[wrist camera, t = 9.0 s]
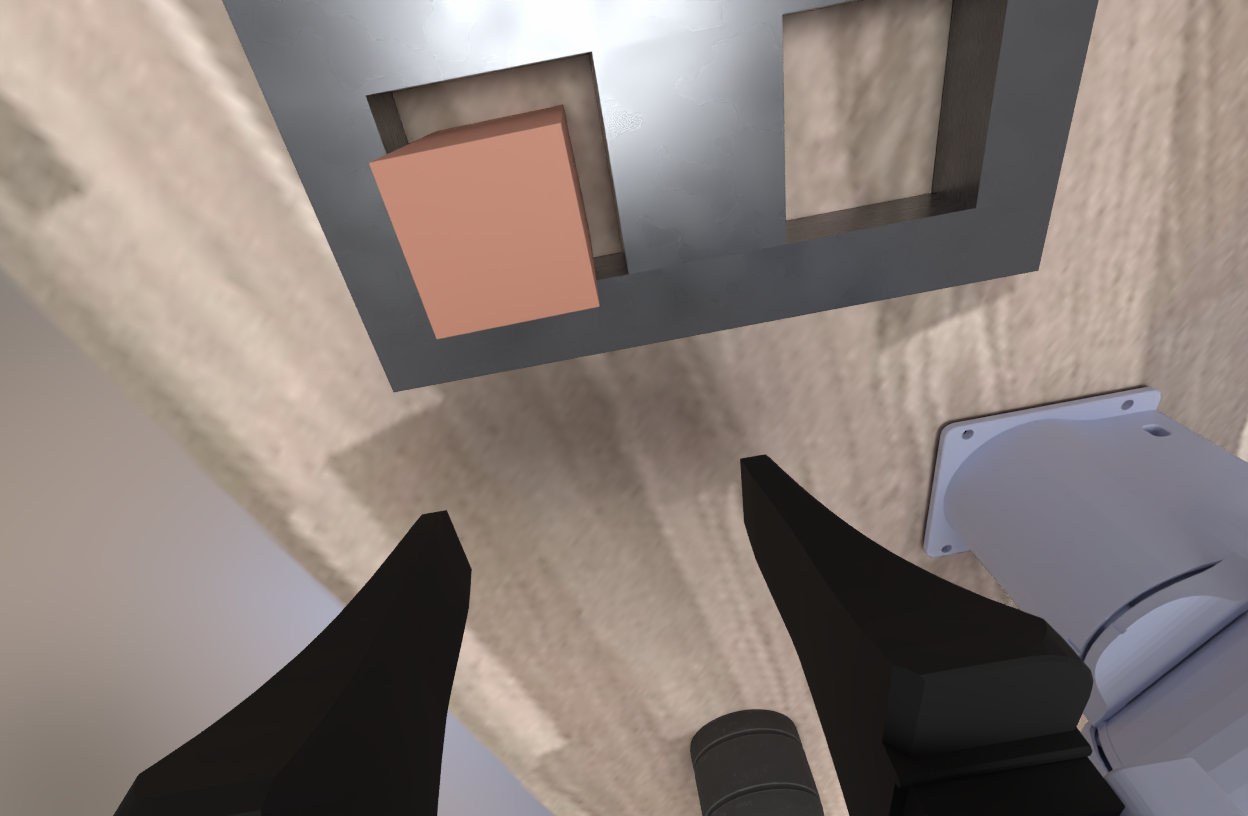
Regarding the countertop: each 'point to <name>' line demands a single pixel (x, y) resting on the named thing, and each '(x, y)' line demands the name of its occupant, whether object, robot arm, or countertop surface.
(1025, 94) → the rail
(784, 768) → the flashlight
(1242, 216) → the countertop surface
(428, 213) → the square block
